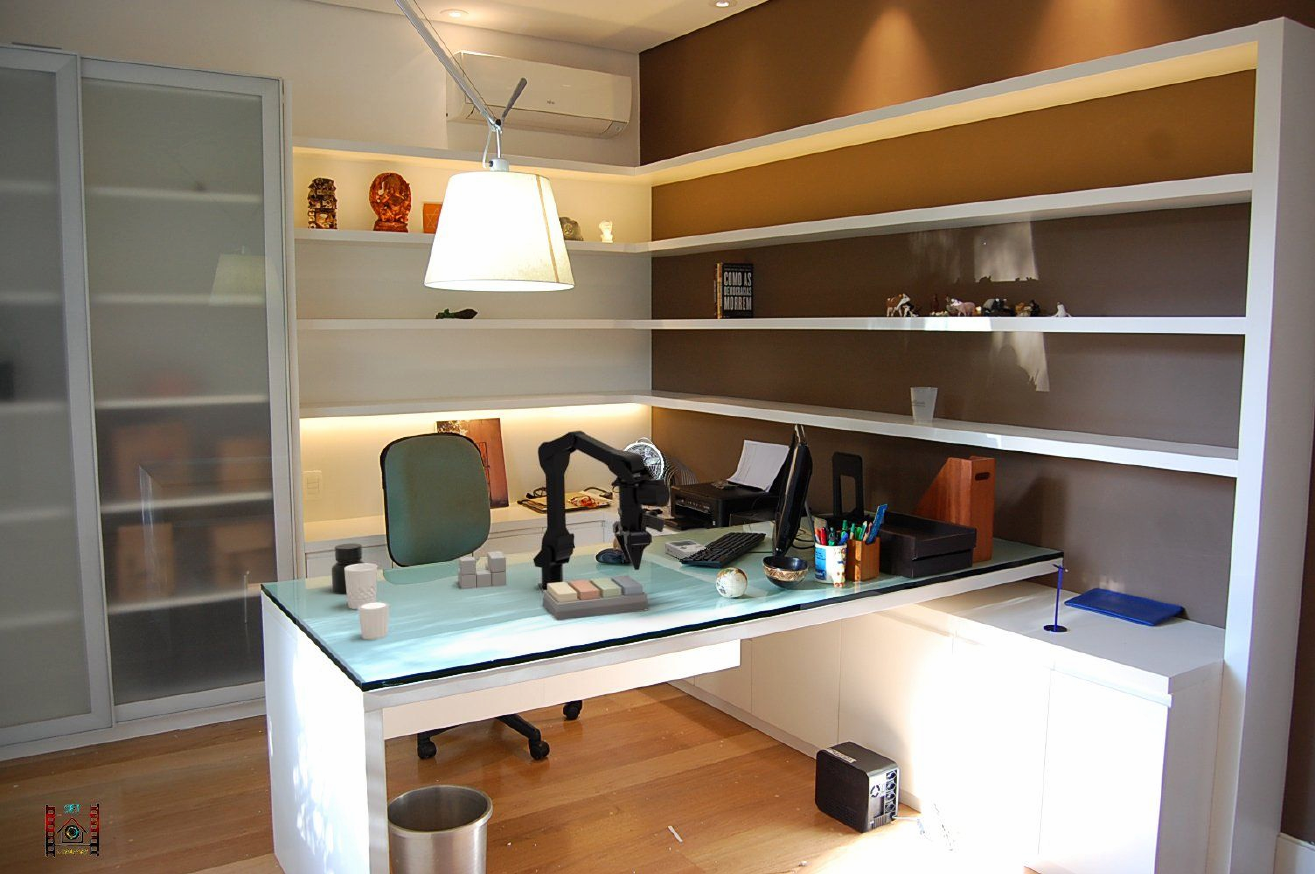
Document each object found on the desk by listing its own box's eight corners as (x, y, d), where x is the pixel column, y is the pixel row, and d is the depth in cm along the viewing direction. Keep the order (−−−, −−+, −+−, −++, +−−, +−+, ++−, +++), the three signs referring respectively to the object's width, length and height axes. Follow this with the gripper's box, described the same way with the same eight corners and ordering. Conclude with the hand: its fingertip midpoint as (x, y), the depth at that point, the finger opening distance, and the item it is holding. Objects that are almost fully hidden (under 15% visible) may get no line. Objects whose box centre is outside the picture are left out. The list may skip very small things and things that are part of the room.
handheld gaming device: (684, 563, 284) (684, 551, 284) (664, 553, 298) (664, 541, 297) (711, 561, 288) (711, 548, 288) (690, 551, 301) (690, 539, 301)
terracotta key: (568, 590, 241) (568, 581, 241) (586, 588, 243) (586, 579, 243) (581, 601, 231) (581, 592, 231) (599, 599, 233) (599, 590, 232)
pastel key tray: (543, 604, 241) (542, 590, 240) (629, 595, 249) (629, 581, 248) (557, 620, 228) (557, 604, 227) (647, 609, 236) (647, 594, 235)
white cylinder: (362, 631, 220) (361, 601, 220) (393, 630, 221) (392, 600, 220) (355, 640, 214) (354, 610, 213) (387, 639, 214) (386, 609, 213)
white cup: (384, 603, 243) (383, 564, 242) (365, 611, 236) (364, 571, 235) (358, 600, 246) (357, 562, 245) (339, 608, 239) (337, 569, 238)
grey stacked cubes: (499, 575, 271) (498, 547, 271) (506, 585, 260) (505, 557, 259) (456, 579, 268) (455, 551, 267) (462, 589, 256) (461, 560, 255)
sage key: (590, 588, 243) (590, 579, 243) (607, 586, 245) (607, 577, 245) (603, 599, 233) (603, 589, 233) (621, 597, 235) (621, 587, 234)
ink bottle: (375, 587, 258) (373, 544, 257) (352, 596, 250) (350, 551, 249) (347, 584, 262) (346, 541, 261) (324, 592, 254) (322, 547, 253)
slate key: (611, 586, 245) (611, 577, 245) (628, 584, 247) (628, 575, 247) (625, 597, 235) (625, 587, 235) (642, 595, 237) (642, 585, 236)
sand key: (547, 592, 239) (547, 583, 239) (565, 590, 241) (564, 581, 241) (558, 604, 229) (558, 594, 229) (577, 602, 231) (577, 592, 230)
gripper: (671, 507, 232) (673, 571, 233) (653, 497, 250) (655, 555, 251) (626, 510, 229) (628, 575, 230) (611, 500, 247) (613, 559, 248)
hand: (632, 565), depth 240 cm, fingers open, 9 cm apart
